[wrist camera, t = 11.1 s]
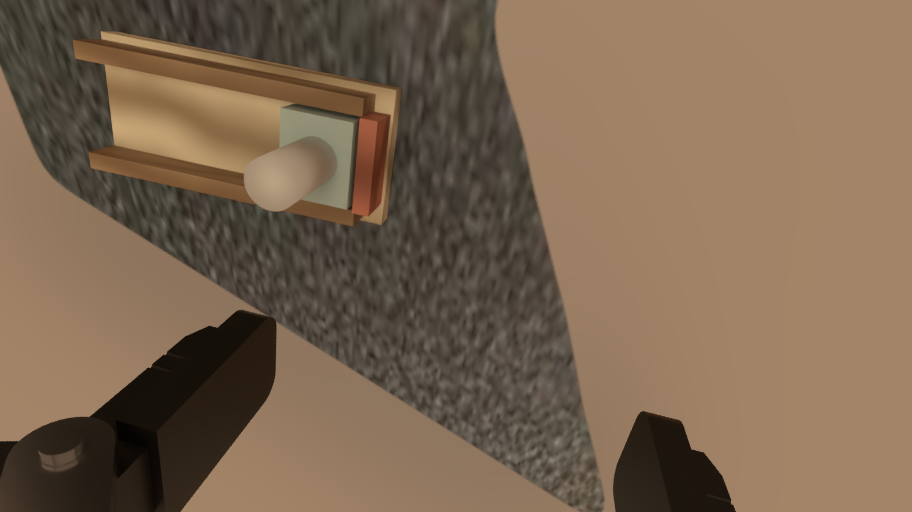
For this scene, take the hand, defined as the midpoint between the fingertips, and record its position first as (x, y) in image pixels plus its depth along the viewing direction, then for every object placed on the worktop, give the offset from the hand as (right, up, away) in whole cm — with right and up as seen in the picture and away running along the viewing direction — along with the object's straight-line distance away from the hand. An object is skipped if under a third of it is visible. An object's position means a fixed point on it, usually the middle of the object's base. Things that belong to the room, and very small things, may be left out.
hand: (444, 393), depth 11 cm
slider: (-9, +11, +26) cm, 29 cm away
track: (-15, +13, +28) cm, 34 cm away
